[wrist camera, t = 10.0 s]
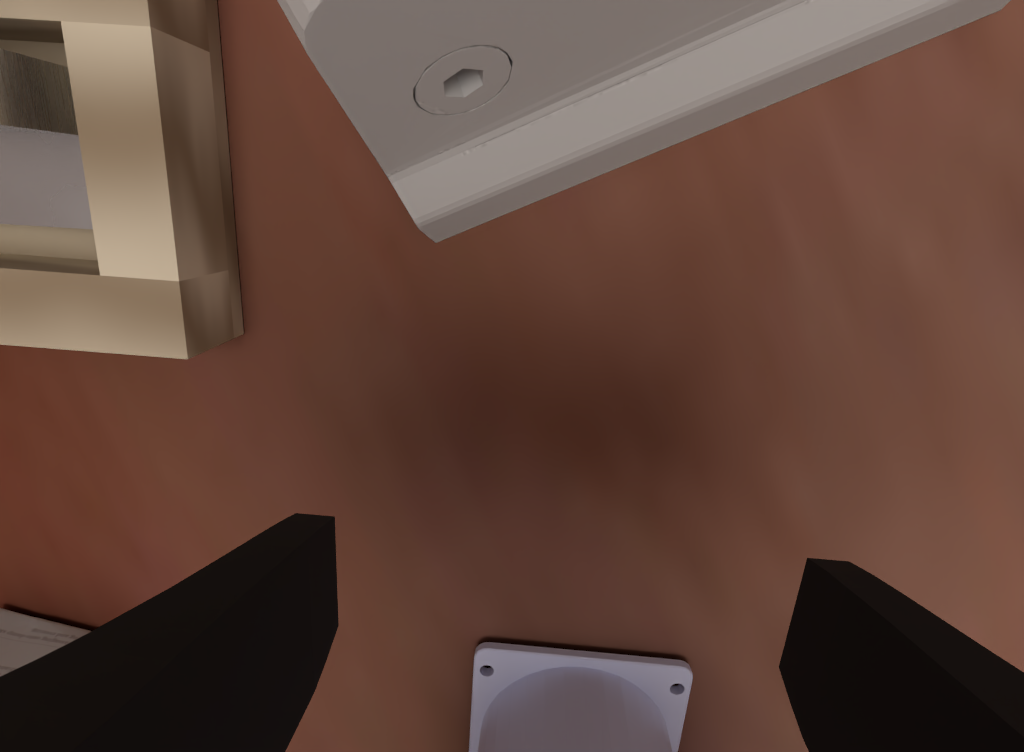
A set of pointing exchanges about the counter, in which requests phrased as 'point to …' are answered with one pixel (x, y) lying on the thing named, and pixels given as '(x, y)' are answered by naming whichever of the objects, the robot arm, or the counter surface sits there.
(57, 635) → the skincare box
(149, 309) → the well block
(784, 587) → the counter surface
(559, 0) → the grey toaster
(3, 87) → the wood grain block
